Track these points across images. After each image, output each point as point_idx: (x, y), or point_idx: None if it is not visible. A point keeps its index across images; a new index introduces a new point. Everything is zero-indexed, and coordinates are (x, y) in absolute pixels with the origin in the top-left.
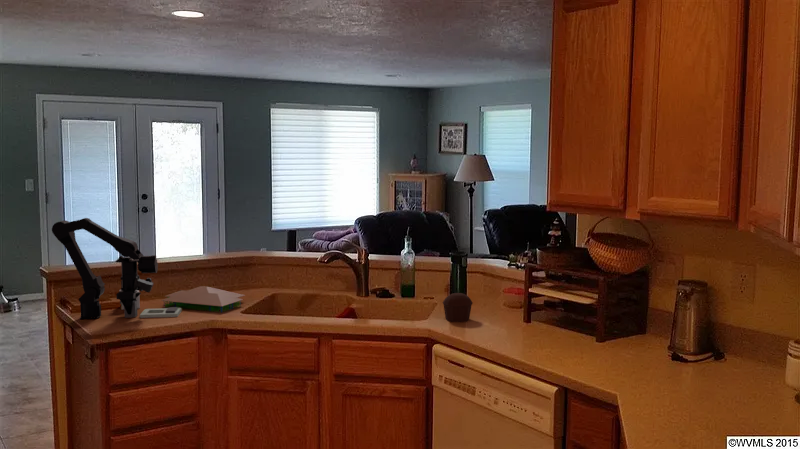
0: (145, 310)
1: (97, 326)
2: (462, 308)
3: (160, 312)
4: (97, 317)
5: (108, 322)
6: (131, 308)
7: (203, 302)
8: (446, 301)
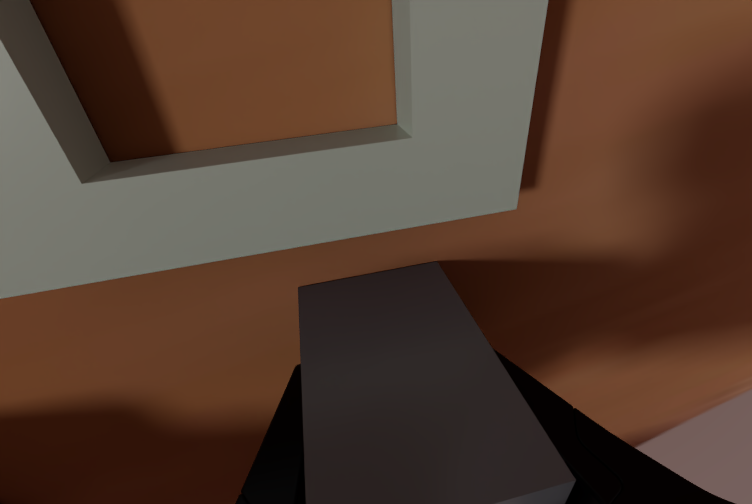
0: (150, 245)
1: (696, 383)
2: None
3: None
4: None
5: (599, 379)
6: (537, 382)
7: None
8: None
